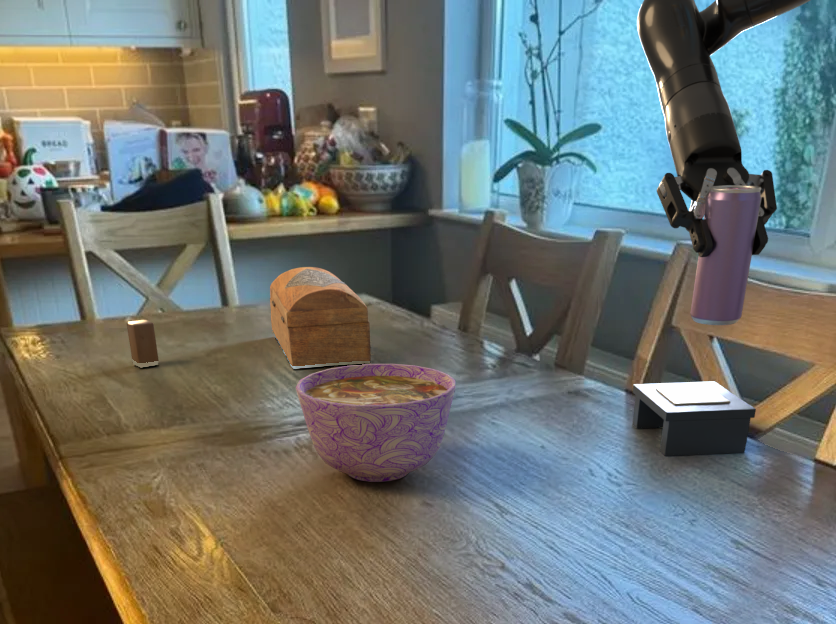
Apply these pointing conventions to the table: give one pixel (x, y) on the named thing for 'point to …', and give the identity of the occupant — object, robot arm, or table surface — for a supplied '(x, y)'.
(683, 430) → the dark footstool
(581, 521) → the table surface
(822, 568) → the table surface
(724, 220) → the beverage can
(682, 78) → the robot arm
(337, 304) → the wooden box
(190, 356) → the table surface
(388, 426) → the bowl of food
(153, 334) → the wooden block
